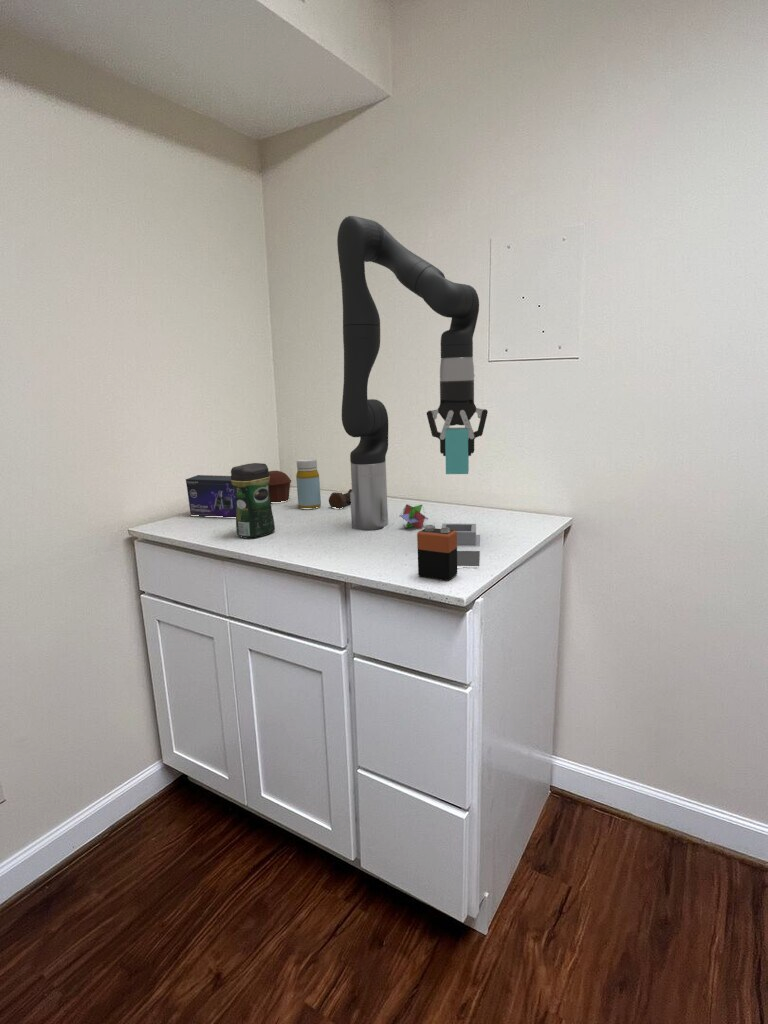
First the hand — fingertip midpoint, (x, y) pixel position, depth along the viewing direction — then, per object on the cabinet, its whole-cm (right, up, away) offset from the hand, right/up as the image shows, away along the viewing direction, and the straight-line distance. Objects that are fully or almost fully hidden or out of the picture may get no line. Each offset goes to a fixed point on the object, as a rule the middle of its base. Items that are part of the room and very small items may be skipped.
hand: (457, 455), depth 132 cm
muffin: (-53, -10, +62) cm, 82 cm away
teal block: (0, -4, +1) cm, 4 cm away
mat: (-1, -23, -9) cm, 25 cm away
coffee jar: (-50, -19, +20) cm, 57 cm away
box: (-66, -14, +43) cm, 81 cm away
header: (+1, -20, +5) cm, 21 cm away
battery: (-6, -26, -18) cm, 32 cm away
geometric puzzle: (-9, -18, +18) cm, 27 cm away
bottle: (-40, -12, +49) cm, 65 cm away
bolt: (-28, -11, +52) cm, 60 cm away
